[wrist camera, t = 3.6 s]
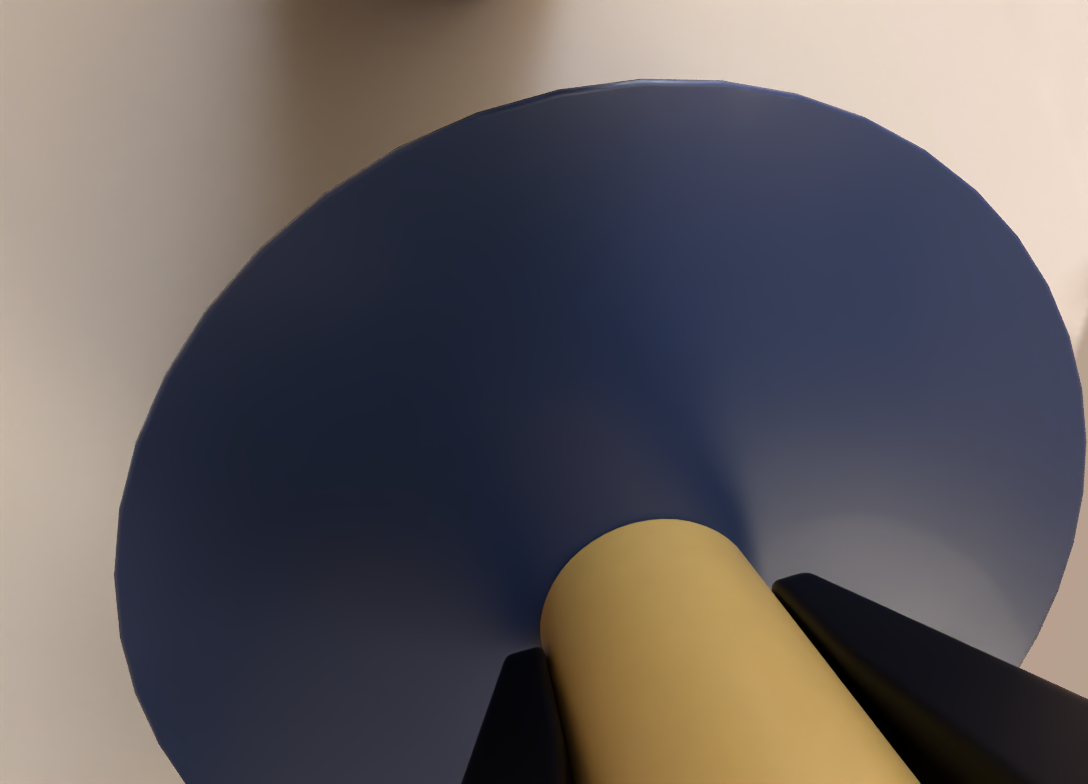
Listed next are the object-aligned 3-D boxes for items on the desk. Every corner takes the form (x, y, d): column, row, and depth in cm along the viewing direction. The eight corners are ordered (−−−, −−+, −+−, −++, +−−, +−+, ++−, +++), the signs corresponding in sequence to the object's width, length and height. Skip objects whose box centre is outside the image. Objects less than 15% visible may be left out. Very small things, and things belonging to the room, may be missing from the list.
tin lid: (850, 856, 12) (1136, 1340, 7) (150, 869, 9) (-153, 1629, 4) (1157, 205, 8) (2164, 273, 3) (163, -44, 6) (-1134, -1004, 1)
